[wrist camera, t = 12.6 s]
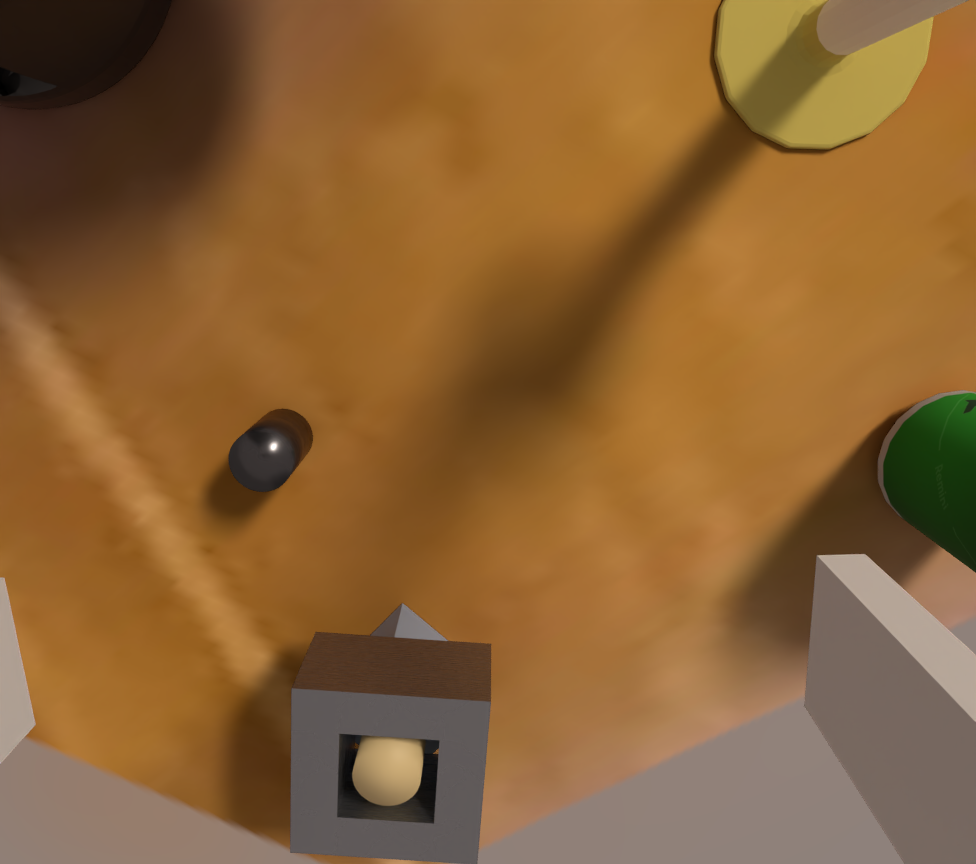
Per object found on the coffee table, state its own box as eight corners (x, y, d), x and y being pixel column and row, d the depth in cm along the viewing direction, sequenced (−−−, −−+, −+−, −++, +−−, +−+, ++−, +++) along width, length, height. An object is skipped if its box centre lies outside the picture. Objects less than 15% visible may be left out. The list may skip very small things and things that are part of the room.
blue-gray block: (333, 671, 46) (295, 779, 37) (402, 603, 44) (380, 697, 36) (411, 733, 47) (392, 852, 38) (480, 668, 45) (477, 775, 37)
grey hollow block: (313, 780, 43) (290, 852, 38) (315, 631, 40) (291, 688, 36) (478, 791, 43) (477, 864, 38) (491, 643, 41) (490, 701, 36)
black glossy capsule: (244, 437, 42) (215, 463, 38) (280, 397, 41) (255, 418, 37) (288, 474, 42) (265, 504, 38) (324, 435, 42) (304, 460, 37)
